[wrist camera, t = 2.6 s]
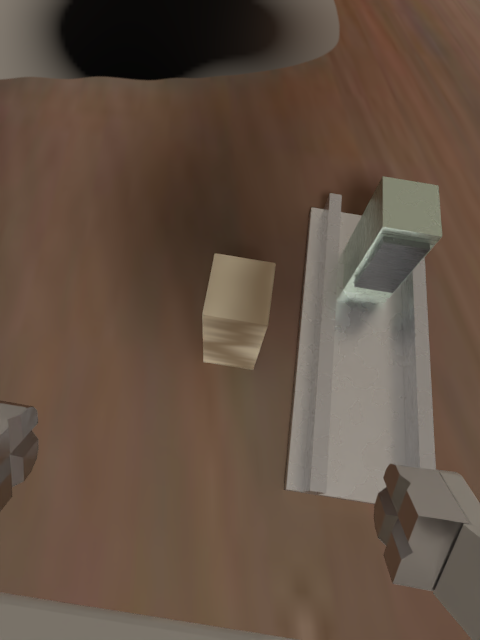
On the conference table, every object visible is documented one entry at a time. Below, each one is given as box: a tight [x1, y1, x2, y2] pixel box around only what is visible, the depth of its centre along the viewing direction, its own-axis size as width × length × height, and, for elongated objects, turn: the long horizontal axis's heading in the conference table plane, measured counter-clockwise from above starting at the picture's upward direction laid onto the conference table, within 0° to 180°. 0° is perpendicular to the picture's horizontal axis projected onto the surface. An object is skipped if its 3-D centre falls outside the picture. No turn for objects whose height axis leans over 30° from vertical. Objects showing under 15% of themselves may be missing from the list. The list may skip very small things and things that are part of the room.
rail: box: [284, 177, 442, 504], centre depth 34 cm, size 12×28×11 cm, turn 172°
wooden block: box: [202, 253, 276, 370], centre depth 34 cm, size 4×6×10 cm
